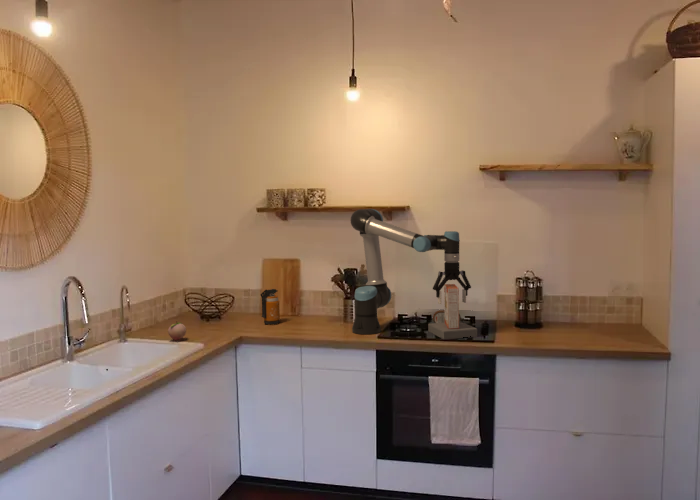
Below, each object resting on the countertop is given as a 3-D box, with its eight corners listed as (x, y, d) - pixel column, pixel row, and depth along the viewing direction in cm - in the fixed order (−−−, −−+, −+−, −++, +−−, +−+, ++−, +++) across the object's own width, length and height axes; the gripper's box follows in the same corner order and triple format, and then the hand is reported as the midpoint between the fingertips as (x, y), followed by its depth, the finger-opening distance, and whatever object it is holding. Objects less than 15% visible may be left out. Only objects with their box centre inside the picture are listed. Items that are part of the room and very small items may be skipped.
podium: (444, 339, 288) (443, 331, 288) (428, 331, 308) (428, 323, 307) (477, 336, 293) (477, 328, 293) (459, 328, 312) (459, 321, 312)
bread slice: (460, 325, 322) (460, 310, 321) (461, 326, 319) (461, 311, 318) (432, 325, 323) (432, 310, 323) (433, 326, 320) (433, 311, 320)
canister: (283, 323, 335) (282, 288, 333) (267, 326, 327) (266, 290, 326) (273, 321, 341) (272, 287, 340) (257, 324, 334) (256, 289, 332)
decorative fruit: (181, 343, 290) (180, 323, 290) (166, 342, 292) (165, 322, 291) (189, 338, 300) (189, 319, 299) (174, 338, 301) (174, 319, 300)
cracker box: (443, 323, 307) (443, 283, 305) (455, 323, 307) (455, 283, 305) (447, 329, 293) (447, 287, 291) (459, 329, 293) (459, 287, 291)
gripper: (431, 263, 291) (432, 305, 292) (477, 261, 297) (477, 302, 299) (426, 262, 298) (426, 303, 300) (470, 260, 304) (470, 300, 306)
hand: (451, 303), depth 299 cm, fingers open, 13 cm apart
